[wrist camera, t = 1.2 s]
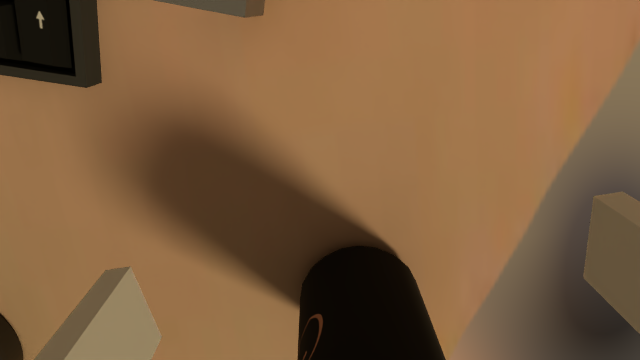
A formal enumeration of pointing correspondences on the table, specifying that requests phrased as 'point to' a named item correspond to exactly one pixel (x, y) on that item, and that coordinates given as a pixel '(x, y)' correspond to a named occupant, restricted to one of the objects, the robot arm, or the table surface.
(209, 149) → the table surface
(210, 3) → the charger
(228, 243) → the table surface
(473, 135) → the table surface
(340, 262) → the coffee jar
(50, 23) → the computer keyboard
